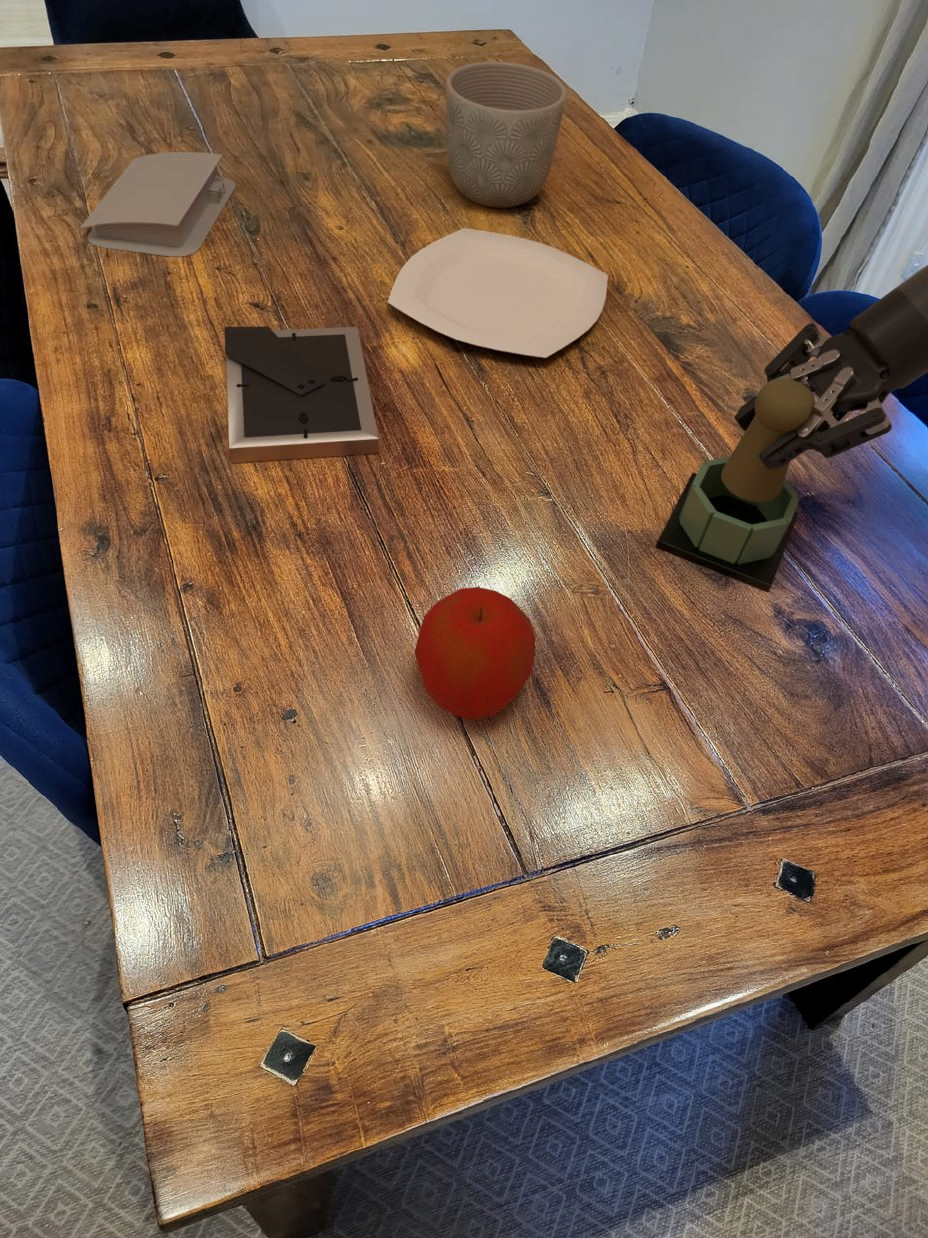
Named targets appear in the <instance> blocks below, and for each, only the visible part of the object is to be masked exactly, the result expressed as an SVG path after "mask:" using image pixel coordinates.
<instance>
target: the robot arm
mask: <svg viewBox="0 0 928 1238" xmlns="http://www.w3.org/2000/svg"><path fill="white" fill-rule="evenodd" d="M812 358H814V359H812ZM763 372H764V374H765V375H766V381H767V382H766V384H767V383H769V382H770V381H773V380H776V379H789V380H794V381H797V382H799V383H801V384H803V385H805V386H806V387H807V388H808V389H810V390H811V392H812V393H813V395H814V396H817V397H818V398H819V399H818V400H817V401H815V405H814V406H813V408H812V413H811V415H810V416H809V418H808V419H807V420H806V421H805V422H804V423H803V424H802V425H801V426H800V427H799V429H798V432H797V433H795V431H794V430H792V431H791V432H789V433H788V434H787V435H785V436H784V437H782V438H781V439H779V440H778V441H777V442H775V443H774V444H772V445H771V446H769V447H768V448H767V449H765V450H764V451H762V452H761V453H760V454H759V458H760V459H761V461H762V462H763V464H764V465H765V466H766V467H767V468H768V469H773V468H776V469H777V468H780V467H783V466H784V465H786V464H787V463H789V462H790V463H791V462H792V461H793V460H794V459H796V458H797V457H799V456H800V455H802V454H803V453H805V452H806V451H808V450H814V451H816V452H817V453H820V454H821V455H822V456H823V457H824V458H825V459H831V458H833V457H835V456H837V455H840V454H842V453H845V452H847V451H850V450H852V449H853V448H856V447H859V446H860V445H861V446H862V445H863V444H866V443H868V442H870V441H872V440H874V439H877V438H879V437H881V436H884V435H886V434H888V433H890V431H891V430H892V428H893V424H892V423H891V421H890V419H889V417H888V415H887V414H886V412H885V410H884V406H883V403H884V402H885V401H886V400H887V398H888V396H889V395H890V394H891V393H892V392H893V391H895V390H900V389H901V390H902V389H904V388H906V387H908V386H909V385H911V384H912V383H913V382H915V381H916V380H917V379H919V378H921V377H922V376H924V375H925V374H927V373H928V264H927V265H925V266H924V267H922V268H921V269H920V270H918V271H916V272H915V273H914V274H912V275H911V276H909V277H908V278H907V279H906V280H904V281H903V282H901V283H900V284H899V285H897V286H896V287H894V288H893V289H892V290H891V291H890V292H888V293H887V294H885V295H884V296H882V297H880V299H878V300H877V301H875V302H874V303H873V304H871V305H870V306H869V307H868V308H865V310H863V311H862V312H860V314H858V315H857V316H855V317H854V318H853V319H852V320H851V322H850V325H849V327H848V328H847V329H846V330H845V331H843V332H841V333H839V334H836V335H832V336H830V337H828V336H827V335H825V334H823V333H822V332H820V330H819V329H818V327H817V326H816V324H815V323H813V322H810V323H808V324H806V325H805V326H804V327H803V328H802V329H801V330H800V331H799V332H798V333H796V335H795V336H794V337H793V338H792V339H791V340H790V341H789V343H787V345H786V346H784V347H783V348H782V350H781V351H779V352H778V354H777V355H776V356H774V358H773V359H771V361H770V362H769V363H768V364H767V365H766V366H765V368H764V371H763ZM806 378H807V379H806ZM756 398H757V395H755V396H754V397H752V398H751V399H750V400H749V401H747V402H745V403H743V405H741V406H740V408H739V409H738V410H737V413H736V414H735V415H734V420H735V421H736V423H737V424H738V426H739V427H740V428H741V429H742V430H743V431H744V432H745V431H746V430H747V428H748V426H749V425H750V423H751V421H752V420H753V418H754V417H755V415H756V414H755V400H756ZM857 411H858V415H856V416H854V417H852V418H849V417H850V416H851V415H852V413H853V412H857ZM848 418H849V419H848ZM847 419H848V420H847ZM790 463H789V464H790Z"/></svg>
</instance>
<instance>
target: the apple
mask: <svg viewBox="0 0 928 1238" xmlns="http://www.w3.org/2000/svg"><path fill="white" fill-rule="evenodd" d="M414 648H415V649H414V651H413V653H414V657H415V659H416V663H417V667H418V669H419V673H420V677H421V680H422V683H423V687H424V689H425V692H426V694H427V695H428V696H429V697H430V698H431V699H432V701H433V702H434V703H435V704H436V705H437V707H439V708H440V709H442V710H444V711H446V712H447V713H449V714H451V715H452V716H454V717H458V718H464V719H469V720H478V719H482V718H486V717H490V716H494V715H495V714H497V713H498V712H500V711H501V710H503V709H504V708H506V707H507V706H508V705H509V704H510V703H511V702H512V701H513V700H514V699H515V697H516V696H517V695H518V694H519V693H520V691H521V690H522V688H523V687H524V686H525V684H526V682H527V681H528V680H529V678H530V676H531V675H532V671H533V665H534V661H535V656H536V635H535V631H534V628H533V625H532V623H531V620H530V618H529V617H528V615H526V613H525V612H524V611H523V610H522V609H521V608H520V607H519V606H518V605H517V604H516V603H515V602H514V600H513V599H512V598H510V597H509V596H506V595H505V594H503V593H500V592H499V591H497V590H494V589H489V588H484V587H479V586H475V587H465V588H464V587H463V588H459V589H458V590H455V591H454V592H452V593H449V594H448V595H447V596H445V597H443V598H442V599H440V600H438V601H436V602H435V604H433V606H432V607H431V608H430V609H429V610H428V611H427V612H426V613H425V614H424V615H423V618H422V622H421V625H420V629H419V632H418V636H417V640H416V645H415V647H414Z"/></svg>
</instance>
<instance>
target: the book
mask: <svg viewBox="0 0 928 1238" xmlns="http://www.w3.org/2000/svg"><path fill="white" fill-rule="evenodd" d="M223 157H224V154H219V153H212V152H194V151H170V152H169V151H168V152H159V153H151V154H146V155H142V156H138V157H133V159H132V160H131V161H130V162H129V164H128V165H127V167H126V168H125V169H124V170H123V172H122V173H121V175H119V177H118V178H117V179H116V181H115V182H114V184H112V186H111V187H110V188H109V190H107V193H106V194H105V195H104V196H103V198H102V199H101V200H100V202H98V204H97V205H96V207H95V208H94V209H93V211H92V212H91V213H90V214H89V215H88V217H87V218H86V219H85V221H84V222H83V223H82V225H81V226H80V227H79V230H85V229H89V228H92V229H91V230H90V231H89V232H88V234H87V241H88V242H89V243H90V244H91V245H92V246H94V247H95V246H96V247H99V248H102V249H107V250H108V249H109V250H115V251H116V250H117V251H125V252H132V253H139V254H146V255H147V254H148V255H154V256H162V257H163V256H164V257H170V258H183V257H187V256H190V255H191V256H192V255H194V254H195V253H196V252H198V251H199V250H200V248H201V247H202V245H203V243H204V242H205V240H206V238H207V237H208V235H209V233H210V232H211V230H212V228H213V226H214V225H215V223H216V221H217V220H218V218H219V216H220V215H221V213H222V211H223V209H224V207H225V206H226V204H227V203H228V201H229V199H230V197H232V194H233V192H234V191H235V189H236V182H235V181H233V180H232V179H231V178H227V177H224V176H221V175H220V176H219V175H218V169H217V167H218V165H219V163H220V162H221V160H222V159H223Z"/></svg>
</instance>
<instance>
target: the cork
mask: <svg viewBox="0 0 928 1238" xmlns="http://www.w3.org/2000/svg"><path fill="white" fill-rule="evenodd" d="M756 396H757V398H756V400H755V414H756V415H755V417H754V418H753V420H752V421H751V423H750V425H749V426H748V428H747V430H746V431H745V430H744V433H743V435H742V436H741V438H740V439H739V441H738V443H737V445H736V446H735V447H734V449H733V451H732V453H731V454H730V455H729V457H730V458H729V459H728V461H727V463H726V464H725V466H724V468H723V470H722V472H721V478H722V481H723V483H724V485H725V487H726V488H727V489H728V490H729V491H730V492H731V493H733V494H735V495H736V496H738V497H740V498H742V499H745V500H748V501H754V502H767V501H770V500H773V499H775V498H776V497H777V496H778V495H779V494H780V492H781V490H782V487H783V483H784V480H785V479H786V477H787V473H788V470H789V466H790V463H791V461H790V462H789V463H787V464H786V465H784V466H783V467H780V468H777V469H776V468H773V469H768V468H767V467H766V466H765V465H764V464H763V462H762V461H761V459H760V458H759V454H760V453H761V452H762V451H764V450H765V449H767V448H768V447H769V446H771V445H772V444H774V443H775V442H777V441H778V440H779V439H781V438H782V437H784V436H785V435H787V434H788V433H789V432H791V431H792V430H794V431H795V433H797V432H798V429H799V427H800V426H801V425H802V424H803V423H804V422H805V421H806V420H807V419H808V418H809V416H810V415H811V413H812V408H813V406H814V405H815V403H816V400H815V395H813V393H812V392H811V390H810V389H808V388H807V387H806V386H805V385H803V384H801V383H799V382H797V381H794V380H789V379H776V380H773V381H770V382H769V383H767V382H766V384H764V385H763V386H762V387H761V389H760V390H759V391H758V393H757V394H756Z"/></svg>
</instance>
